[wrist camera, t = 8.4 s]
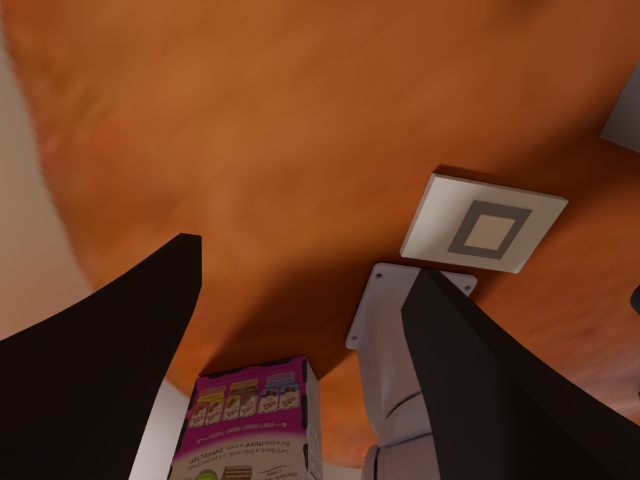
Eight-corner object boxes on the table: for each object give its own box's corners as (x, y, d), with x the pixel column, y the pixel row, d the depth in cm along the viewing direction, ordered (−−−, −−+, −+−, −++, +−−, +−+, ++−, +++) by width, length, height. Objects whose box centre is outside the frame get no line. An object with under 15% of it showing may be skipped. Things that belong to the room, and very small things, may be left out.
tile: (513, 268, 24) (519, 275, 23) (399, 251, 22) (402, 258, 22) (562, 196, 20) (571, 202, 20) (432, 172, 19) (436, 178, 19)
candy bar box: (219, 402, 33) (157, 666, 19) (195, 376, 30) (104, 662, 17) (322, 382, 32) (333, 653, 18) (307, 352, 29) (307, 646, 15)
